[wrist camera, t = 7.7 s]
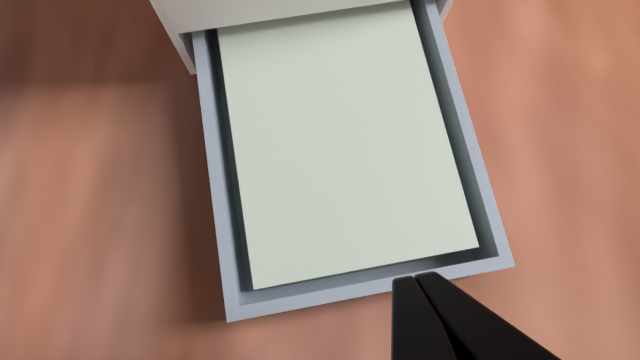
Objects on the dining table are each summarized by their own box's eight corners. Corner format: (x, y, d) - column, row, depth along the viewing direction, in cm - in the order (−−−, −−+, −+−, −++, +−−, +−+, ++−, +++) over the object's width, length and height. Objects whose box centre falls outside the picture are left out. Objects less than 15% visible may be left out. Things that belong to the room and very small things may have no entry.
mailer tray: (483, 271, 15) (515, 266, 13) (240, 318, 15) (226, 322, 12) (406, -1, 18) (420, -46, 16) (203, 28, 18) (186, -13, 15)
